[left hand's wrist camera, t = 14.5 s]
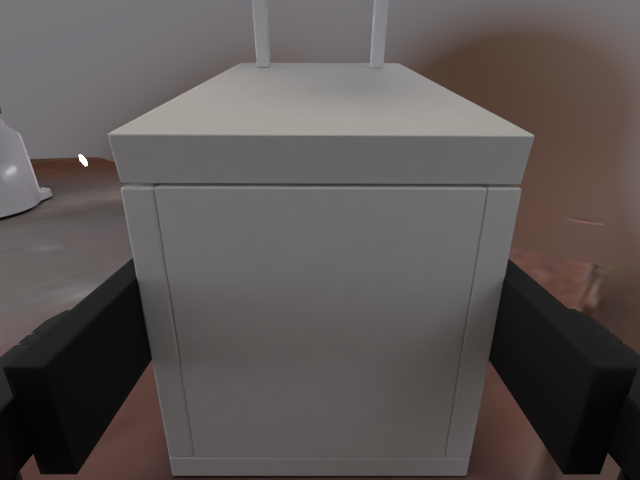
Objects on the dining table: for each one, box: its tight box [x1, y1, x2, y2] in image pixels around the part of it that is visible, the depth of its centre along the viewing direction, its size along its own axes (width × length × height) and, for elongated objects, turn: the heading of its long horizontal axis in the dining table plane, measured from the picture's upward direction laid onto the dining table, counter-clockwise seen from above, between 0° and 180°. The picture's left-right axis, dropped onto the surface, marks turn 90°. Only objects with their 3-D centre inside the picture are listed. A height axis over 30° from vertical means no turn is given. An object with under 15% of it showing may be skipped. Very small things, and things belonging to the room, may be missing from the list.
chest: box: [121, 183, 521, 476], centre depth 19 cm, size 17×10×10 cm, turn 0°
